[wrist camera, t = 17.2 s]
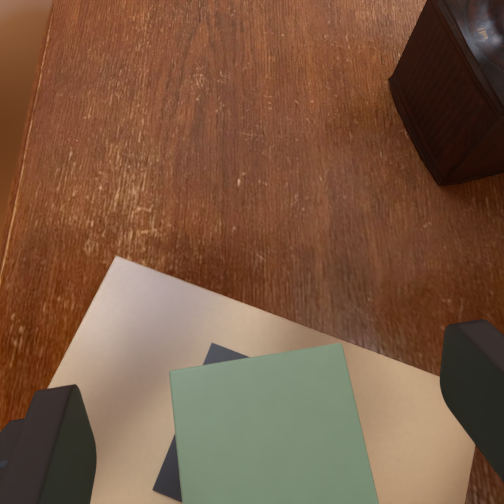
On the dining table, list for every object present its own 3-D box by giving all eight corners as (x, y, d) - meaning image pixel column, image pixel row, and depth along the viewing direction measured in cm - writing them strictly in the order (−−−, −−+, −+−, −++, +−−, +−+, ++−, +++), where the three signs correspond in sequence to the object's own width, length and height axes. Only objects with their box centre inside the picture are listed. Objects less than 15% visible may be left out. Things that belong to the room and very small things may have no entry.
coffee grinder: (493, 50, 40) (681, -222, 24) (558, 159, 37) (836, -71, 20) (323, 88, 38) (397, -182, 21) (375, 207, 35) (512, -5, 18)
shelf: (49, 477, 27) (-9, 492, 21) (139, 291, 32) (114, 253, 25) (381, 618, 26) (434, 684, 19) (429, 401, 30) (487, 393, 23)
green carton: (207, 512, 21) (189, 579, 11) (193, 395, 22) (168, 370, 13) (318, 491, 21) (388, 538, 12) (296, 378, 23) (342, 341, 14)
